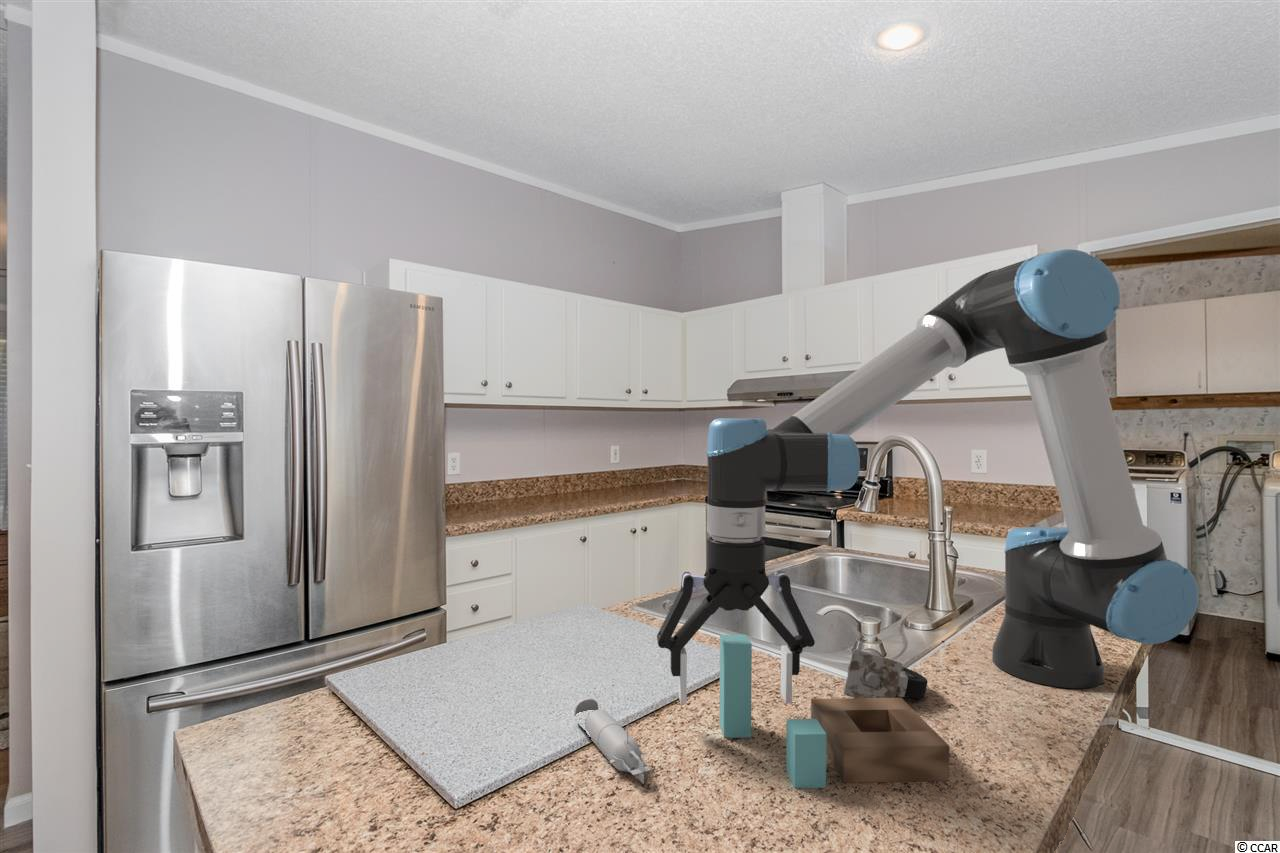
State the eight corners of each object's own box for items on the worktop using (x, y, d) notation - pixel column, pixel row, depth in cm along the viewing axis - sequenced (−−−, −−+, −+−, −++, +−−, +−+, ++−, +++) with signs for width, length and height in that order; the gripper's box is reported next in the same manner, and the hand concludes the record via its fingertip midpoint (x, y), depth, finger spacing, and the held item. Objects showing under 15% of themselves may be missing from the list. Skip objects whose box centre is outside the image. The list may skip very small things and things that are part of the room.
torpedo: (564, 724, 85) (564, 675, 85) (597, 716, 87) (597, 669, 87) (624, 796, 69) (624, 736, 69) (662, 784, 71) (662, 726, 71)
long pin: (745, 723, 84) (746, 634, 84) (751, 737, 81) (751, 644, 81) (719, 724, 84) (719, 634, 84) (723, 737, 81) (724, 644, 80)
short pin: (815, 769, 74) (816, 718, 73) (825, 787, 70) (826, 733, 70) (786, 770, 73) (786, 719, 73) (794, 788, 70) (795, 734, 70)
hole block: (901, 727, 83) (901, 697, 83) (948, 780, 71) (949, 745, 71) (810, 729, 83) (811, 699, 83) (843, 782, 71) (843, 747, 71)
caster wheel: (916, 702, 96) (927, 723, 87) (840, 677, 100) (843, 695, 90) (925, 659, 97) (938, 675, 87) (850, 635, 100) (854, 648, 90)
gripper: (640, 543, 78) (639, 713, 78) (841, 542, 79) (839, 711, 79) (638, 531, 85) (637, 687, 86) (821, 531, 86) (819, 685, 87)
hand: (734, 699), depth 82 cm, fingers open, 13 cm apart
